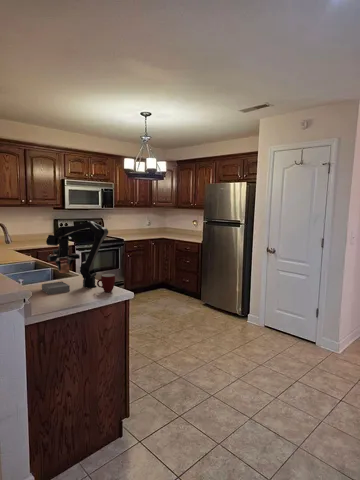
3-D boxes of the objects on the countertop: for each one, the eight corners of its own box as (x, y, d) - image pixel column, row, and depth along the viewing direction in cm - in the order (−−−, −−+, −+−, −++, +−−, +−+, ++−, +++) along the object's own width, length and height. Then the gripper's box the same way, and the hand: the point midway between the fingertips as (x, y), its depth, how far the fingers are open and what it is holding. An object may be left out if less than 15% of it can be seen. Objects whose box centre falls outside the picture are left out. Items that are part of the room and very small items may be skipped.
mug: (96, 293, 183) (96, 277, 181) (97, 290, 190) (97, 274, 189) (115, 293, 185) (115, 276, 184) (114, 289, 193) (115, 273, 192)
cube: (66, 271, 203) (66, 263, 202) (69, 272, 199) (69, 264, 198) (58, 271, 199) (58, 264, 199) (61, 273, 196) (61, 265, 195)
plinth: (61, 286, 195) (61, 281, 195) (69, 291, 186) (69, 285, 186) (41, 289, 187) (41, 284, 187) (48, 294, 178) (48, 288, 178)
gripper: (73, 243, 209) (73, 266, 211) (44, 245, 197) (44, 269, 199) (80, 245, 201) (80, 269, 203) (50, 247, 189) (50, 273, 191)
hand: (63, 270), depth 199 cm, fingers closed on cube, 5 cm apart
